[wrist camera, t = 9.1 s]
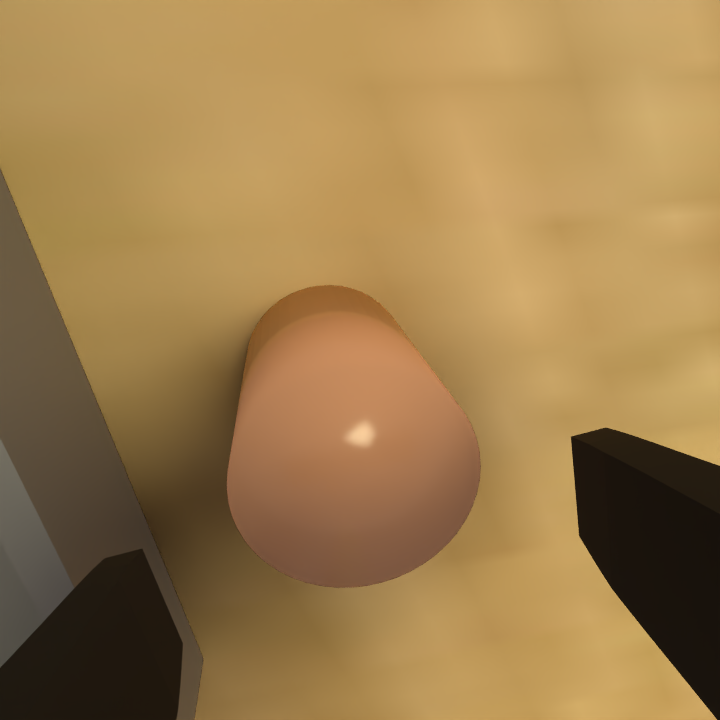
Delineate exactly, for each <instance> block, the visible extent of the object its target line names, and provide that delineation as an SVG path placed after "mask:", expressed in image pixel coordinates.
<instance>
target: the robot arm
mask: <svg viewBox="0 0 720 720" xmlns="http://www.w3.org/2000/svg"><path fill="white" fill-rule="evenodd" d="M571 442H572V454H573V466H574V478H575V490H576V502H577V515H578V527H579V536H580V538H581V540H582V541H583V543H584V545H585V546H586V548H587V550H588V551H589V553H590V555H591V556H592V558H593V560H594V561H595V563H596V565H597V566H598V568H599V569H600V571H601V572H602V574H603V575H604V577H605V579H606V580H607V582H608V583H609V585H610V586H611V588H612V589H613V591H614V592H615V593H616V594H617V596H618V597H619V598H620V600H621V601H622V602H623V603H624V605H625V606H626V607H627V608H628V610H629V611H630V612H631V613H632V615H633V616H634V617H635V618H636V620H637V621H638V622H639V623H640V625H641V626H642V627H643V628H644V630H645V631H646V632H647V633H648V635H649V636H650V637H651V638H652V640H653V641H654V642H655V643H656V645H657V646H658V647H659V648H660V649H661V651H662V652H663V653H664V654H665V656H666V657H667V658H668V659H669V661H670V662H671V663H672V664H673V665H674V667H675V668H676V669H677V670H678V672H679V673H680V674H681V675H682V677H683V678H684V679H685V680H686V682H687V683H688V684H689V685H690V686H691V688H692V689H693V690H694V691H695V693H696V694H697V695H698V696H699V698H700V699H701V700H702V701H703V702H704V704H705V705H706V706H707V707H708V709H709V710H710V711H711V712H712V714H713V715H714V716H715V717H716V719H717V720H720V466H718V465H715V464H712V463H710V462H707V461H704V460H701V459H698V458H695V457H692V456H690V455H687V454H684V453H681V452H678V451H675V450H673V449H670V448H667V447H664V446H661V445H659V444H656V443H653V442H650V441H647V440H644V439H641V438H638V437H635V436H632V435H629V434H626V433H623V432H620V431H616V430H613V429H609V428H603V429H599V430H595V431H591V432H587V433H583V434H580V435H576V436H572V437H571ZM182 653H183V642H182V640H181V637H180V635H179V633H178V630H177V628H176V626H175V623H174V621H173V619H172V616H171V614H170V612H169V609H168V607H167V605H166V602H165V600H164V598H163V595H162V593H161V591H160V588H159V586H158V584H157V581H156V579H155V577H154V574H153V572H152V570H151V567H150V565H149V563H148V560H147V558H146V556H145V553H144V551H143V549H138V550H134V551H130V552H127V553H123V554H119V555H115V556H111V557H107V558H104V559H103V560H102V561H101V562H100V563H99V564H98V565H97V566H96V567H95V568H94V569H92V570H91V571H90V572H89V573H88V575H87V576H86V577H85V578H84V579H83V580H82V581H81V582H80V583H79V584H78V585H77V586H76V587H75V588H74V589H73V590H72V591H71V592H70V593H69V594H68V596H67V597H66V598H65V599H64V600H63V601H62V602H61V603H60V604H59V605H58V606H57V607H56V608H55V610H54V611H53V612H52V613H51V614H50V615H49V616H48V617H47V618H46V619H45V620H44V621H43V623H42V624H41V625H40V626H39V627H38V628H37V629H36V630H35V631H34V632H33V633H32V634H31V635H30V636H29V637H28V639H27V640H26V641H25V642H24V643H23V644H22V645H21V646H20V647H19V648H18V649H17V650H16V651H15V652H14V654H13V655H12V656H11V657H10V658H9V659H8V660H7V661H6V662H5V663H4V664H3V665H2V666H1V667H0V720H176V719H177V714H178V707H179V695H180V684H181V670H182Z"/></svg>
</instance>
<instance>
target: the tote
mask: <svg viewBox="0 0 720 720" xmlns="http://www.w3.org/2000/svg"><path fill="white" fill-rule="evenodd" d="M138 549H143V551H144V553H145V556H146V558H147V560H148V563H149V565H150V567H151V570H152V572H153V574H154V577H155V579H156V581H157V584H158V586H159V588H160V591H161V593H162V595H163V598H164V600H165V602H166V605H167V607H168V609H169V612H170V614H171V616H172V619H173V621H174V623H175V626H176V628H177V630H178V633H179V635H180V637H181V640H182V642H183V653H182V670H181V684H180V695H179V707H178V714H177V719H176V720H194V719H195V712H196V705H197V699H198V692H199V685H200V678H201V672H202V665H203V657H202V654H201V652H200V649H199V647H198V645H197V642H196V640H195V637H194V635H193V632H192V630H191V628H190V625H189V623H188V620H187V618H186V616H185V613H184V611H183V608H182V606H181V604H180V601H179V599H178V596H177V594H176V592H175V589H174V587H173V584H172V582H171V579H170V577H169V575H168V572H167V570H166V567H165V565H164V563H163V560H162V558H161V555H160V553H159V551H158V548H157V546H156V543H155V541H154V539H153V536H152V534H151V531H150V529H149V526H148V524H147V522H146V519H145V517H144V514H143V512H142V510H141V507H140V505H139V502H138V500H137V498H136V495H135V493H134V490H133V488H132V486H131V483H130V481H129V478H128V476H127V473H126V471H125V469H124V466H123V464H122V461H121V459H120V457H119V454H118V452H117V449H116V447H115V445H114V442H113V440H112V437H111V435H110V433H109V430H108V428H107V425H106V423H105V420H104V418H103V416H102V413H101V411H100V408H99V406H98V404H97V401H96V399H95V396H94V394H93V392H92V389H91V387H90V384H89V382H88V380H87V377H86V375H85V372H84V370H83V368H82V365H81V363H80V360H79V358H78V355H77V353H76V351H75V348H74V346H73V343H72V341H71V339H70V336H69V334H68V331H67V329H66V327H65V324H64V322H63V319H62V317H61V315H60V312H59V310H58V307H57V305H56V302H55V300H54V298H53V295H52V293H51V290H50V288H49V286H48V283H47V281H46V278H45V276H44V274H43V271H42V269H41V266H40V264H39V262H38V259H37V257H36V254H35V252H34V249H33V247H32V245H31V242H30V240H29V237H28V235H27V233H26V230H25V228H24V225H23V223H22V221H21V218H20V216H19V213H18V211H17V209H16V206H15V204H14V201H13V199H12V196H11V194H10V192H9V189H8V187H7V184H6V182H5V180H4V177H3V175H2V172H1V170H0V667H1V666H2V665H3V664H4V663H5V662H6V661H7V660H8V659H9V658H10V657H11V656H12V655H13V654H14V652H15V651H16V650H17V649H18V648H19V647H20V646H21V645H22V644H23V643H24V642H25V641H26V640H27V639H28V637H29V636H30V635H31V634H32V633H33V632H34V631H35V630H36V629H37V628H38V627H39V626H40V625H41V624H42V623H43V621H44V620H45V619H46V618H47V617H48V616H49V615H50V614H51V613H52V612H53V611H54V610H55V608H56V607H57V606H58V605H59V604H60V603H61V602H62V601H63V600H64V599H65V598H66V597H67V596H68V594H69V593H70V592H71V591H72V590H73V589H74V588H75V587H76V586H77V585H78V584H79V583H80V582H81V581H82V580H83V579H84V578H85V577H86V576H87V575H88V573H89V572H90V571H91V570H92V569H94V568H95V567H96V566H97V565H98V564H99V563H100V562H101V561H102V560H103V559H104V558H107V557H111V556H115V555H119V554H123V553H127V552H130V551H134V550H138Z"/></svg>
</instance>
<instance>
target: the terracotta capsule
mask: <svg viewBox="0 0 720 720" xmlns="http://www.w3.org/2000/svg"><path fill="white" fill-rule="evenodd" d="M480 467H481V465H480V452H479V447H478V443H477V439H476V436H475V433H474V431H473V428H472V426H471V424H470V422H469V420H468V418H467V417H466V415H465V413H464V411H463V410H462V409H461V408H460V406H459V405H458V404H457V402H456V401H455V400H454V398H453V397H452V396H451V394H450V393H449V392H448V390H447V389H446V388H445V386H444V385H443V384H442V382H441V381H440V380H439V378H438V377H437V376H436V374H435V373H434V372H433V370H432V369H431V368H430V366H429V365H428V364H427V362H426V361H425V360H424V358H423V357H422V356H421V354H420V353H419V352H418V350H417V349H416V348H415V346H414V345H413V344H412V342H411V341H410V340H409V338H408V337H407V336H406V334H405V333H404V332H403V330H402V329H401V328H400V326H399V325H398V324H397V322H396V321H395V320H394V318H393V317H392V316H391V315H390V313H389V312H388V311H387V310H386V309H385V308H384V307H383V306H382V305H381V304H380V303H379V302H377V301H376V300H374V299H373V298H372V297H370V296H368V295H366V294H364V293H362V292H360V291H357V290H354V289H351V288H347V287H343V286H333V285H324V286H315V287H309V288H306V289H302V290H299V291H297V292H294V293H292V294H290V295H288V296H286V297H285V298H283V299H281V300H280V301H278V302H277V303H276V304H275V305H274V306H272V307H271V308H270V309H269V310H268V311H267V312H266V313H265V314H264V316H263V317H262V318H261V320H260V321H259V323H258V324H257V326H256V328H255V329H254V331H253V333H252V336H251V339H250V342H249V345H248V350H247V355H246V361H245V367H244V374H243V380H242V386H241V392H240V398H239V404H238V410H237V417H236V423H235V429H234V435H233V441H232V447H231V453H230V460H229V466H228V472H227V494H228V503H229V507H230V510H231V514H232V517H233V519H234V522H235V524H236V526H237V529H238V531H239V532H240V534H241V535H242V537H243V538H244V540H245V542H246V543H247V544H248V545H249V546H250V548H251V549H252V550H253V551H254V552H255V553H256V554H257V555H258V556H259V557H260V558H261V559H263V560H264V561H265V562H266V563H267V564H269V565H270V566H272V567H273V568H275V569H276V570H278V571H280V572H282V573H284V574H286V575H288V576H290V577H292V578H295V579H298V580H300V581H303V582H306V583H311V584H315V585H319V586H327V587H360V586H368V585H372V584H377V583H382V582H385V581H388V580H391V579H394V578H397V577H399V576H401V575H403V574H406V573H408V572H410V571H412V570H414V569H415V568H417V567H419V566H421V565H422V564H424V563H425V562H427V561H428V560H429V559H431V558H432V557H433V556H435V555H436V554H437V553H438V552H439V551H440V550H442V549H443V548H444V547H445V546H446V545H447V544H448V543H449V542H450V540H451V539H452V538H453V537H454V536H455V535H456V534H457V532H458V531H459V529H460V528H461V526H462V525H463V523H464V522H465V520H466V518H467V516H468V514H469V512H470V510H471V508H472V506H473V503H474V500H475V497H476V495H477V490H478V485H479V481H480Z"/></svg>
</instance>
